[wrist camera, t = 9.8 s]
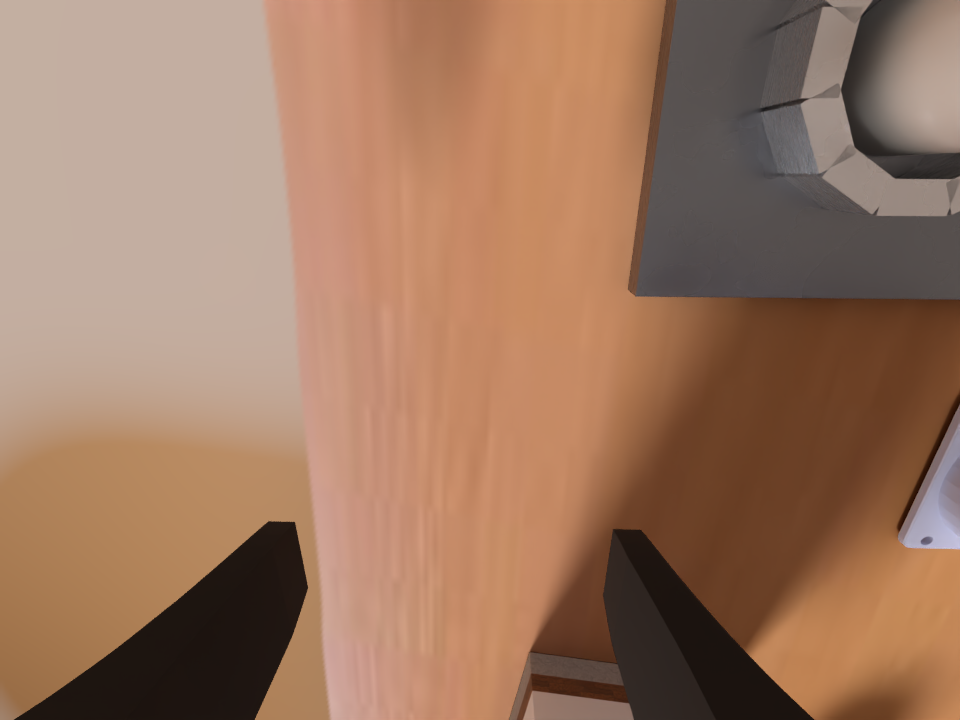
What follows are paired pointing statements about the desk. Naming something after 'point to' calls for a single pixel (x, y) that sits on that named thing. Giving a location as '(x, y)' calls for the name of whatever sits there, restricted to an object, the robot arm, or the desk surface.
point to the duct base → (781, 167)
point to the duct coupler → (905, 79)
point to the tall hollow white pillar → (570, 690)
